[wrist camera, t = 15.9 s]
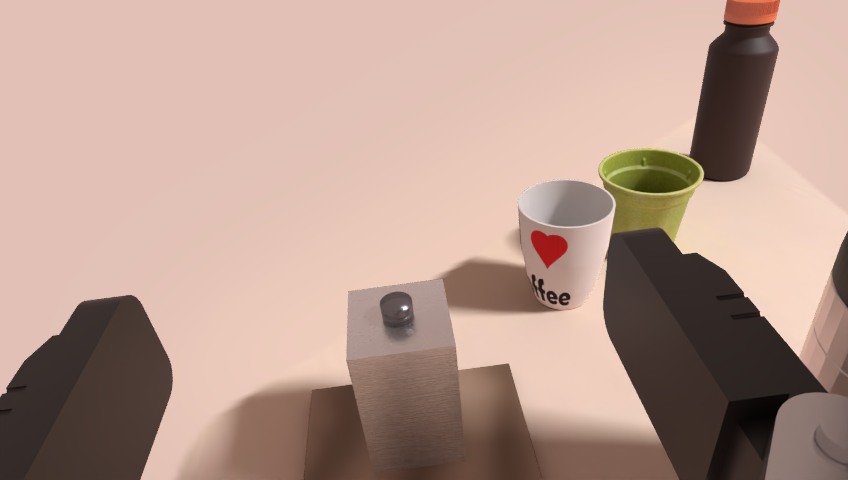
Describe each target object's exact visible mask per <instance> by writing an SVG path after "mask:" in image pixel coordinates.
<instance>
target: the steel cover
mask: <svg viewBox="0 0 848 480" xmlns="http://www.w3.org/2000/svg"><path fill="white" fill-rule="evenodd" d="M348 293H349V294H348V324H347V358H346V361H347V365H348V369H349V373H350V377H351V381H352V385H353V389H354V394H355V398H356V402H357V406H358V410H359V414H360V418H361V422H362V426H363V431H364V435H365V439H366V443H367V447H368V451H369V455H370V459H371V463H372V468H373V472H374V473H381V472H388V471H395V470H402V469H409V468H417V467H424V466H431V465H438V464H445V463H452V462H460V461H466V454H465V443H464V432H463V421H462V410H461V399H460V388H459V377H458V366H457V355H456V345H455V340H454V335H453V329H452V324H451V319H450V314H449V309H448V303H447V298H446V293H445V288H444V283H443V279H437V280H430V281H423V282H415V283H407V284H400V285H392V286H385V287H377V288H370V289H362V290H355V291H348Z"/></svg>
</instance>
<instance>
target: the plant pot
mask: <svg viewBox="0 0 848 480" xmlns="http://www.w3.org/2000/svg"><path fill="white" fill-rule="evenodd" d="M599 176H600V178H601V179H602V181H603V185H604V188H605V190H607V191H608V192H609V193H610V194H611V195H612V196H613V197H614V199H615V202H616V207H615V213H614V218H613V224H612V229H611V235H610V238H611V236H612V234H614V233H618V232H625V231H633V230H641V229H648V228H656V227H659V228H662V229H663V230H664V231H665V232H666V233H667V235H668V236H669V237H670V239H671V240H672V241H673V242H674V240H675V237H676V234H677V232H678V229H679V226H680V223H681V220H682V218H683V215H684V212H685V209H686V206H687V204H688V201H689V198H690V197H691V196H692V195H693V193H694V191H695V189H696V188H697V187H698V186H699V185H700V184H701V182H702V181H703V177H704V172H703V169H702V167H701V166H700V165H699V164H698V163H697V162H696V161H694V160H693V159H691V158H689V157H687V156H685V155H682V154H680V153H676V152H672V151H668V150H662V149H651V148H642V149H630V150H624V151H620V152H618V153H614V154H612V155H610V156H609V157H607V158H605V159H604V160H603V161H602V162H601V164H600V165H599Z"/></svg>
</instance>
